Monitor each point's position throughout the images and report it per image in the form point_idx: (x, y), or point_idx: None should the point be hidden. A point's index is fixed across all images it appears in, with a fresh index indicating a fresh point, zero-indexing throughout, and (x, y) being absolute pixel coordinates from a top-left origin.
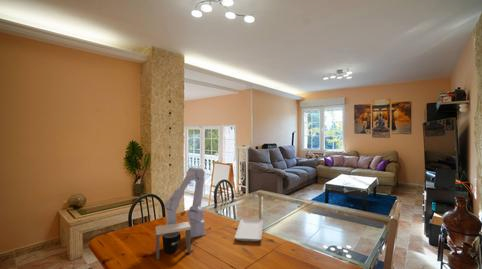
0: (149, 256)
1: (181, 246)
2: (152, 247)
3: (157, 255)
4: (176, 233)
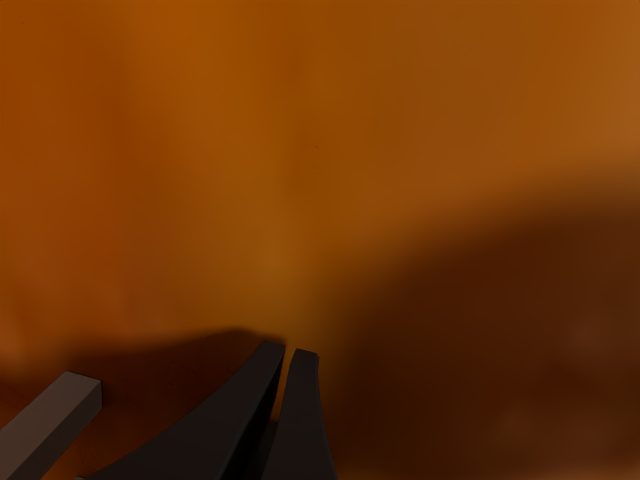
0: (2, 407)
1: (427, 449)
2: (7, 212)
3: None
4: None
